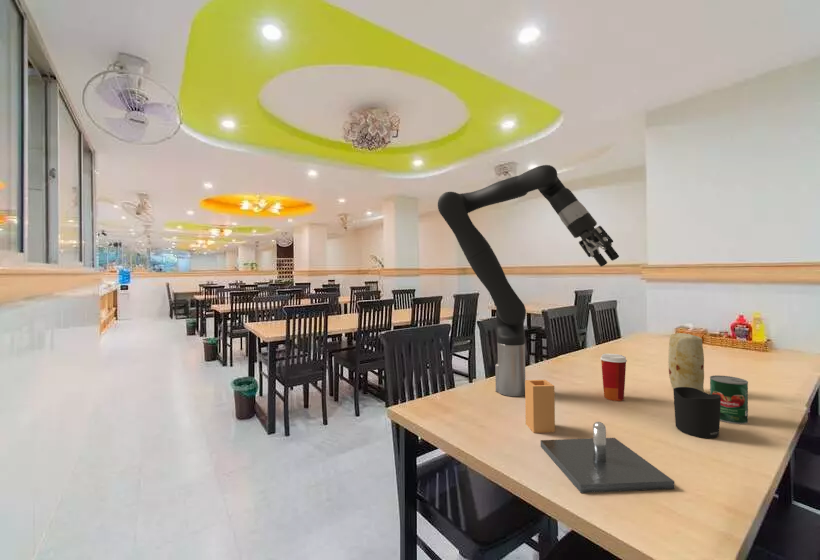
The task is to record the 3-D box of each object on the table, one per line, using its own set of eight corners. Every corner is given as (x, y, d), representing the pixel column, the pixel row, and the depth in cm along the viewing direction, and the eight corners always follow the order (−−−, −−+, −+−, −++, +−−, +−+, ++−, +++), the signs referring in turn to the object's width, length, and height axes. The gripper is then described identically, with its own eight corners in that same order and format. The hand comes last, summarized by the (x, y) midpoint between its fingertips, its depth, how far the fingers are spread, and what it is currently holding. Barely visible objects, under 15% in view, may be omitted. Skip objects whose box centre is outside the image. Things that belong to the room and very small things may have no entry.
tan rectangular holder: (533, 432, 91) (533, 386, 90) (525, 423, 96) (525, 380, 96) (555, 432, 91) (554, 385, 91) (545, 423, 96) (545, 379, 96)
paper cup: (620, 394, 119) (619, 353, 119) (632, 402, 111) (631, 358, 111) (596, 394, 120) (595, 353, 119) (606, 402, 112) (606, 358, 112)
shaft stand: (580, 492, 65) (580, 443, 65) (540, 446, 83) (540, 407, 83) (674, 489, 66) (673, 440, 66) (614, 443, 84) (614, 405, 84)
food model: (706, 393, 118) (705, 334, 118) (701, 398, 114) (701, 336, 114) (671, 387, 126) (670, 331, 126) (665, 391, 122) (665, 333, 121)
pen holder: (681, 436, 87) (680, 396, 87) (668, 421, 96) (668, 385, 96) (728, 442, 84) (728, 400, 84) (711, 426, 93) (710, 388, 93)
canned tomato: (717, 422, 96) (717, 381, 95) (704, 411, 103) (704, 374, 103) (755, 426, 93) (754, 384, 93) (739, 415, 100) (738, 376, 100)
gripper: (560, 232, 116) (590, 273, 112) (573, 217, 102) (608, 263, 99) (580, 220, 116) (611, 260, 112) (595, 204, 102) (631, 249, 98)
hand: (609, 262), depth 105 cm, fingers open, 8 cm apart
